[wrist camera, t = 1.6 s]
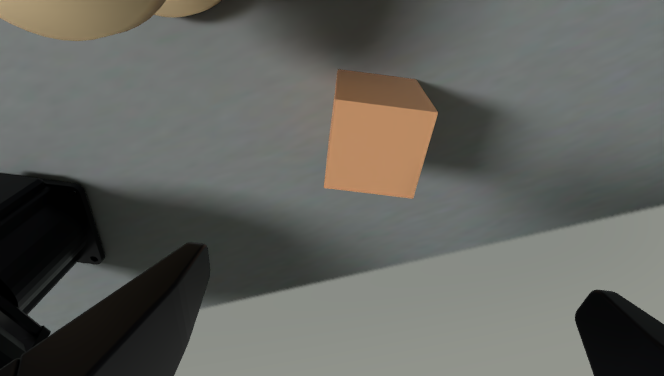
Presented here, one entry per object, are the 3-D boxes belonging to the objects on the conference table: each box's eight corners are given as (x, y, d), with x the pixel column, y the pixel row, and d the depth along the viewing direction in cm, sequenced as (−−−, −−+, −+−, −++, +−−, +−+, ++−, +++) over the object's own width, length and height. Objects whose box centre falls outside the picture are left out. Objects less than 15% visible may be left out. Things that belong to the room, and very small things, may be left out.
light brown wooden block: (398, 150, 20) (413, 198, 15) (328, 141, 19) (323, 187, 15) (415, 79, 17) (438, 112, 13) (337, 69, 17) (334, 99, 13)
